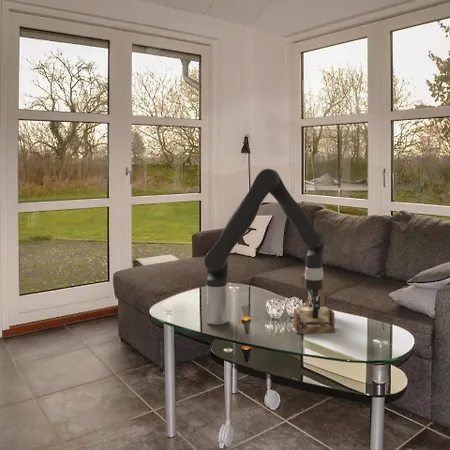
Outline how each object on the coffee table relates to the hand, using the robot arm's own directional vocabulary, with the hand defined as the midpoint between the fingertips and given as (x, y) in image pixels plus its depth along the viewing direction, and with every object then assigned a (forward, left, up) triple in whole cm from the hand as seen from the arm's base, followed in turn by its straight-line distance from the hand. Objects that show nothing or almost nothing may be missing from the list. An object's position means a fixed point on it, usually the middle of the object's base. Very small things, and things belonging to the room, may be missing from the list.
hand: (313, 315), depth 218 cm
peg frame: (0, 0, -6) cm, 6 cm away
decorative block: (+3, +18, -6) cm, 19 cm away
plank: (0, 0, -2) cm, 2 cm away
